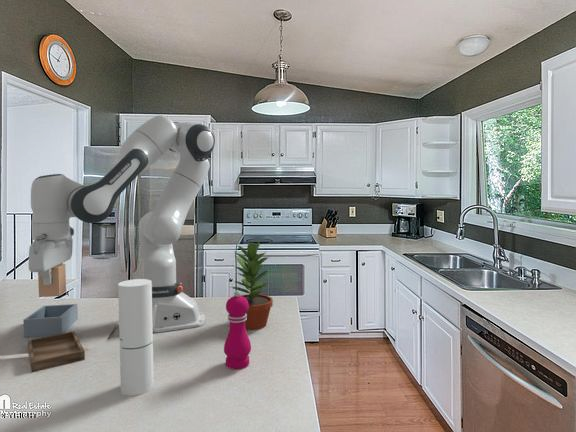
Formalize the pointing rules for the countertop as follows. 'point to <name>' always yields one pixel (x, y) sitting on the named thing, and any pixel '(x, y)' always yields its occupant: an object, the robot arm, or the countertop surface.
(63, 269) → the block
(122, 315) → the cylindrical container
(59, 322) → the blue-grey storage bin
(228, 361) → the pepper mill
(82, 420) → the countertop surface
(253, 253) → the potted plant
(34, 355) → the tray
